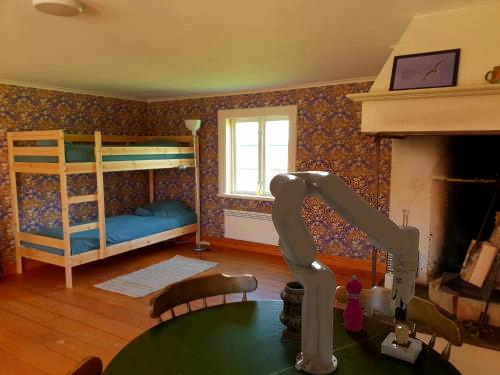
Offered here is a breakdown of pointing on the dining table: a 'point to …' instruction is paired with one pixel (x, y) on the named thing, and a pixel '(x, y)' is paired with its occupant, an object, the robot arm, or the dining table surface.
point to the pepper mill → (353, 305)
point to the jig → (401, 348)
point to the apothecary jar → (292, 309)
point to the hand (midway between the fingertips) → (400, 319)
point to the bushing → (401, 335)
